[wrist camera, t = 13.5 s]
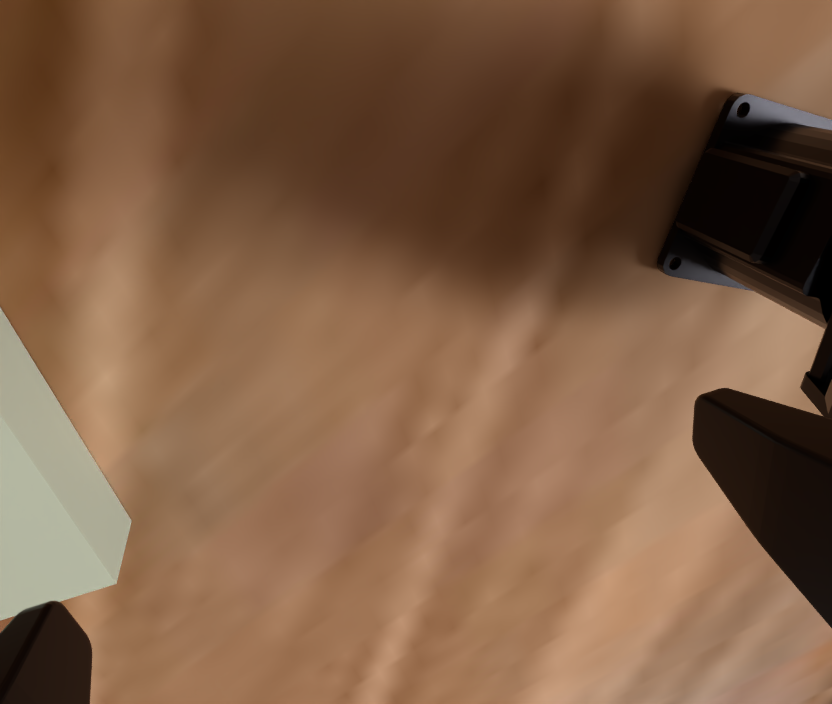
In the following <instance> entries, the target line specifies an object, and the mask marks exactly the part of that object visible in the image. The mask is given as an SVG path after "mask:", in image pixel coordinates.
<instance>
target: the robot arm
mask: <svg viewBox="0 0 832 704" xmlns="http://www.w3.org/2000/svg"><path fill="white" fill-rule="evenodd" d="M740 104H742V109H741V111H740V113H739V114H738V115H737V108H738V107H739V105H740ZM673 258H675V261H674V262H673V264H672V265H670V266H669V263H670V261H671V260H672V259H673ZM657 266H658V269H659V270H660V271H661V272H663V273H665V274H666V275H669V276H673V277H678V278H684V279H689V280H695V281H701V282H706V283H712V284H717V285H723V286H729V287H734V288H740V289H745V290H751V291H755V292H757V293H759V294H760V295H762V296H764V297H766V298H768V299H770V300H772V301H774V302H775V303H777V304H779V305H781V306H783V307H785V308H787V309H789V310H790V311H792V312H794V313H796V314H798V315H800V316H802V317H804V318H805V319H807V320H809V321H811V322H813V323H815V324H817V325H819V326H820V327H822V328H824V329H825V331H824V334H823V337H822V339H821V342H820V345H819V348H818V350H817V353H816V356H815V358H814V361H813V364H812V367H811V369H810V371H808V372H806V373H805V376H804V378H803V381H802V384H801V387H800V388H801V389H802V391H803V392H804V393H805V394H806V396H807V397H808V398H809V399H810V400H811V402H812V403H813V404H814V405H815V406H816V408H817V409H818V410H819V411H820V412H821V414H822V415H823V416H824V417H823V416H820V415H817V414H813V413H810V412H806V411H803V410H800V409H796V408H793V407H790V406H786V405H783V404H779V403H776V402H773V401H769V400H766V399H763V398H759V397H756V396H752V395H749V394H746V393H742V392H739V391H736V390H732V389H728V388H721V389H717V390H714V391H711V392H707V393H704V394H701V395H700V396H698V397H697V399H696V401H695V405H694V420H693V436H692V439H693V445H694V449H695V451H696V453H697V455H698V456H699V458H700V459H701V461H702V462H703V464H704V465H705V467H706V468H707V469H708V471H709V472H710V474H711V475H712V477H713V478H714V480H715V481H716V482H717V484H718V485H719V487H720V488H721V490H722V491H723V493H724V494H725V495H726V497H727V498H728V500H729V501H730V503H731V504H732V505H733V507H734V508H735V510H736V511H737V513H738V514H739V516H740V517H741V518H742V520H743V521H744V523H745V524H746V526H747V527H748V528H749V530H750V531H751V533H752V534H753V535H754V537H755V538H756V539H757V541H758V542H759V543H760V544H761V546H762V547H763V548H764V549H765V551H766V552H767V553H768V554H769V555H770V557H771V558H772V559H773V560H774V561H775V562H776V564H777V565H778V566H779V567H780V568H781V569H782V571H783V572H784V573H785V574H786V575H787V576H788V578H789V579H790V580H791V581H792V582H793V584H794V585H795V586H796V587H797V588H798V589H799V591H800V592H801V593H802V594H803V595H804V596H805V598H806V599H807V600H808V601H809V602H810V603H811V605H812V606H813V607H814V608H815V609H816V610H817V612H818V613H819V614H820V615H821V616H822V617H823V619H824V620H825V621H826V622H827V623H828V624H829V626H830V627H831V628H832V120H830V119H827V118H824V117H821V116H817V115H814V114H811V113H808V112H805V111H801V110H798V109H795V108H792V107H789V106H785V105H782V104H779V103H776V102H773V101H769V100H766V99H763V98H760V97H757V96H754V95H750V94H743V93H736V94H734V95H732V96H731V97H730V98H729V99H727V101H726V103H725V104H724V106H723V108H722V111H721V113H720V115H719V118H718V120H717V122H716V125H715V127H714V129H713V132H712V134H711V136H710V139H709V141H708V143H707V146H706V148H705V150H704V153H703V155H702V157H701V160H700V162H699V164H698V167H697V169H696V171H695V174H694V176H693V178H692V181H691V183H690V185H689V188H688V190H687V192H686V195H685V197H684V199H683V202H682V204H681V206H680V209H679V211H678V213H677V216H676V218H675V220H674V223H673V225H672V227H671V229H670V232H669V234H668V236H667V239H666V241H665V243H664V246H663V248H662V250H661V253H660V255H659V257H658V261H657ZM91 670H92V647H91V643H90V640H89V638H88V636H87V634H86V633H85V632H84V631H83V629H82V628H81V627H80V625H79V624H78V623H77V622H76V620H75V619H74V618H73V617H72V615H71V614H70V613H69V611H68V610H67V609H66V608H65V606H64V605H63V604H62V603H60V602H58V601H48V602H45V603H42V604H39V605H36V606H33V607H29V608H26V609H24V610H22V611H21V612H19V613H18V614H17V615H16V616H15V617H14V618H13V620H12V621H11V622H10V623H9V624H8V625H7V626H6V627H5V628H4V630H3V631H2V632H1V633H0V704H90V689H91Z"/></svg>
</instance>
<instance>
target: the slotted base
mask: <svg viewBox="0 0 832 704" xmlns="http://www.w3.org/2000/svg"><path fill="white" fill-rule="evenodd" d="M130 526H131V519H130V518H129V516H128V514H127V513H126V511H125V510H124V508H123V506H122V505H121V503H120V501H119V500H118V498H117V497H116V495H115V493H114V492H113V490H112V488H111V487H110V485H109V484H108V482H107V480H106V479H105V477H104V475H103V474H102V472H101V470H100V469H99V467H98V466H97V464H96V462H95V461H94V459H93V457H92V456H91V454H90V453H89V451H88V449H87V448H86V446H85V444H84V443H83V441H82V440H81V438H80V436H79V435H78V433H77V431H76V430H75V428H74V427H73V425H72V423H71V422H70V420H69V418H68V417H67V415H66V414H65V412H64V410H63V409H62V407H61V405H60V404H59V402H58V401H57V399H56V397H55V396H54V394H53V392H52V391H51V389H50V387H49V386H48V384H47V383H46V381H45V379H44V378H43V376H42V374H41V373H40V371H39V370H38V368H37V366H36V365H35V363H34V361H33V360H32V358H31V357H30V355H29V353H28V352H27V350H26V348H25V347H24V345H23V344H22V342H21V340H20V339H19V337H18V335H17V334H16V332H15V331H14V329H13V327H12V326H11V324H10V322H9V321H8V319H7V318H6V316H5V314H4V313H3V311H2V309H1V308H0V620H3V619H6V618H9V617H13V616H16V615H17V614H18V613H19V612H21V611H22V610H24V609H26V608H29V607H33V606H36V605H39V604H42V603H45V602H48V601H58V602H60V601H63V600H66V599H70V598H73V597H76V596H79V595H82V594H85V593H89V592H92V591H95V590H98V589H101V588H104V587H108V586H111V585H114V584H116V583H117V579H118V575H119V571H120V567H121V563H122V559H123V554H124V550H125V546H126V542H127V538H128V534H129V530H130Z"/></svg>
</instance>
